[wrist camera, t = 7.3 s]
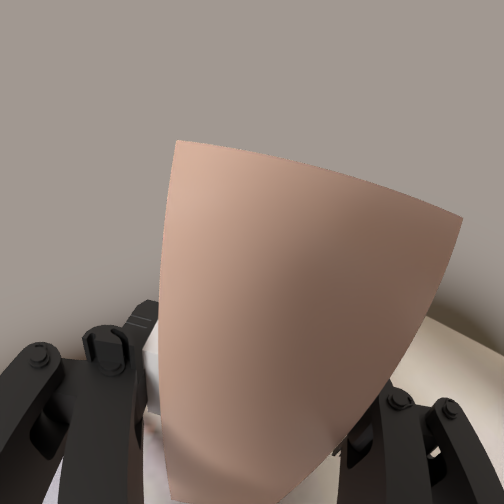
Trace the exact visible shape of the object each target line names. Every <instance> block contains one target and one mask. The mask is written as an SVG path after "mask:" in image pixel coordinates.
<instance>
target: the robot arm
mask: <svg viewBox="0 0 504 504" xmlns="http://www.w3.org/2000/svg"><path fill="white" fill-rule="evenodd" d="M158 314H159V302H156V301H151V300H146V301H144V302H143V303H141V304H139V305H138V306H137V307H136V308H135V310H134V311H133V312H132V314H131V316H130V317H129V318H128V320H127V322H126V323H125V324H124V326H123V327H122V328H121V327H118V326H114V325H101V326H97V327H93V328H92V329H90V330H88V331H87V332H86V333H85V335H84V336H83V337H82V340H83V345H84V350H85V354H86V358H87V360H72V359H65V358H61V355H60V353H59V351H58V349H57V348H56V347H54V346H53V345H52V344H49V343H45V342H36V343H33V344H30V345H28V346H27V347H25V348H24V349H23V350H22V351H21V352H20V353H19V354H18V356H17V357H16V358H15V359H14V360H13V361H12V362H11V363H10V365H9V366H8V367H7V368H6V369H5V370H4V371H3V373H2V374H1V375H0V504H42V503H43V500H44V498H45V495H46V493H47V491H48V488H49V486H50V484H51V482H52V479H53V477H54V475H55V473H56V471H57V468H58V466H59V464H60V462H61V460H62V458H63V463H62V469H61V476H60V484H59V494H58V504H144V492H143V433H144V421H143V413H144V410H145V408H146V405H147V407H148V412H151V413H154V414H158V415H161V411H160V394H159V369H158ZM438 446H439V449H440V451H441V453H439V454H438V455H437V456H436V457H432V456H431V454H430V453H431V452H432V451H433V450H435V449H436V448H437V447H438ZM340 450H341V454H340V455H339V457H341V460H340V475H339V487H338V497H337V504H504V490H503V487H502V485H501V483H500V480H499V478H498V476H497V474H496V472H495V469H494V467H493V465H492V463H491V461H490V459H489V457H488V455H487V453H486V451H485V449H484V447H483V445H482V443H481V442H480V440H479V438H478V436H477V434H476V432H475V431H474V429H473V427H472V425H471V424H470V422H469V420H468V418H467V417H466V415H465V413H464V412H463V410H462V408H461V407H460V406H459V404H458V403H456V402H455V401H454V400H452V399H449V398H440V399H438V400H437V401H436V402H435V403H434V405H433V406H432V407H427V406H421V405H416V404H415V403H414V400H413V398H412V397H411V396H410V395H409V394H408V393H407V392H405V391H404V390H402V389H399V388H396V387H393V385H392V382H391V380H390V378H389V380H388V381H387V383H386V384H385V385H384V387H383V388H382V390H381V391H380V393H379V394H378V396H377V397H376V398H375V400H374V401H373V402H372V404H371V405H370V406H369V408H368V409H367V410H366V412H365V413H364V414H363V416H362V417H361V418H360V419H359V421H358V422H357V423H356V424H355V426H354V427H353V428H352V429H351V430H350V432H349V433H348V434H347V436H346V437H345V438H344V439H343V440H342V442H341V443H340V444H339V445H338V446H337V447H336V448H335V449H334V450H333V453H332V456H335V455H336V454H337V453H338V452H339V451H340ZM63 456H64V457H63Z"/></svg>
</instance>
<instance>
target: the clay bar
mask: <svg viewBox="0 0 504 504" xmlns="http://www.w3.org/2000/svg"><path fill="white" fill-rule="evenodd" d="M462 221H463V218H462V217H460V216H458V215H456V214H453V213H451V212H449V211H446V210H444V209H442V208H439V207H437V206H434V205H432V204H429V203H427V202H424V201H421V200H419V199H417V198H414V197H411V196H408V195H406V194H403V193H400V192H397V191H395V190H392V189H389V188H386V187H383V186H380V185H377V184H374V183H371V182H368V181H365V180H361V179H358V178H355V177H352V176H348V175H345V174H342V173H338V172H335V171H331V170H328V169H323V168H320V167H316V166H312V165H309V164H305V163H300V162H296V161H292V160H288V159H284V158H279V157H275V156H270V155H265V154H260V153H255V152H250V151H245V150H240V149H234V148H228V147H222V146H216V145H210V144H203V143H196V142H189V141H180V140H177V141H176V146H175V152H174V157H173V164H172V170H171V176H170V183H169V190H168V199H167V206H166V214H165V223H164V233H163V244H162V256H161V270H160V288H159V314H158V369H159V394H160V411H161V424H162V435H163V445H164V453H165V461H166V469H167V476H168V482H169V489H170V494H171V500H175V501H180V502H185V503H190V504H276V503H278V502H279V501H280V500H281V499H282V498H284V497H285V496H286V495H287V494H288V493H290V492H291V491H292V490H293V489H294V488H295V487H296V486H298V485H299V484H300V483H301V482H302V481H303V480H304V479H305V478H306V477H307V476H308V475H309V474H310V473H311V472H313V471H314V470H315V469H316V468H317V467H318V466H319V465H320V464H321V463H322V462H323V460H324V459H325V458H326V457H327V456H328V455H329V454H330V453H331V452H332V451H333V450H334V449H335V448H336V447H337V445H338V444H339V443H340V442H341V441H342V440H343V439H344V438H345V436H346V435H347V434H348V433H349V432H350V430H351V429H352V428H353V427H354V426H355V424H356V423H357V422H358V421H359V419H360V418H361V417H362V416H363V414H364V413H365V412H366V410H367V409H368V408H369V406H370V405H371V404H372V402H373V401H374V400H375V398H376V397H377V396H378V394H379V393H380V391H381V390H382V388H383V387H384V385H385V384H386V383H387V381H388V380H389V378H390V377H391V375H392V373H393V372H394V370H395V369H396V367H397V366H398V364H399V362H400V361H401V359H402V357H403V356H404V354H405V352H406V351H407V349H408V347H409V345H410V344H411V342H412V340H413V338H414V337H415V335H416V333H417V331H418V329H419V327H420V325H421V323H422V321H423V319H424V317H425V315H426V313H427V311H428V309H429V307H430V305H431V303H432V301H433V299H434V296H435V294H436V292H437V290H438V287H439V285H440V283H441V280H442V278H443V275H444V273H445V270H446V268H447V265H448V263H449V260H450V257H451V255H452V252H453V249H454V246H455V243H456V240H457V237H458V234H459V231H460V228H461V224H462Z"/></svg>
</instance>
